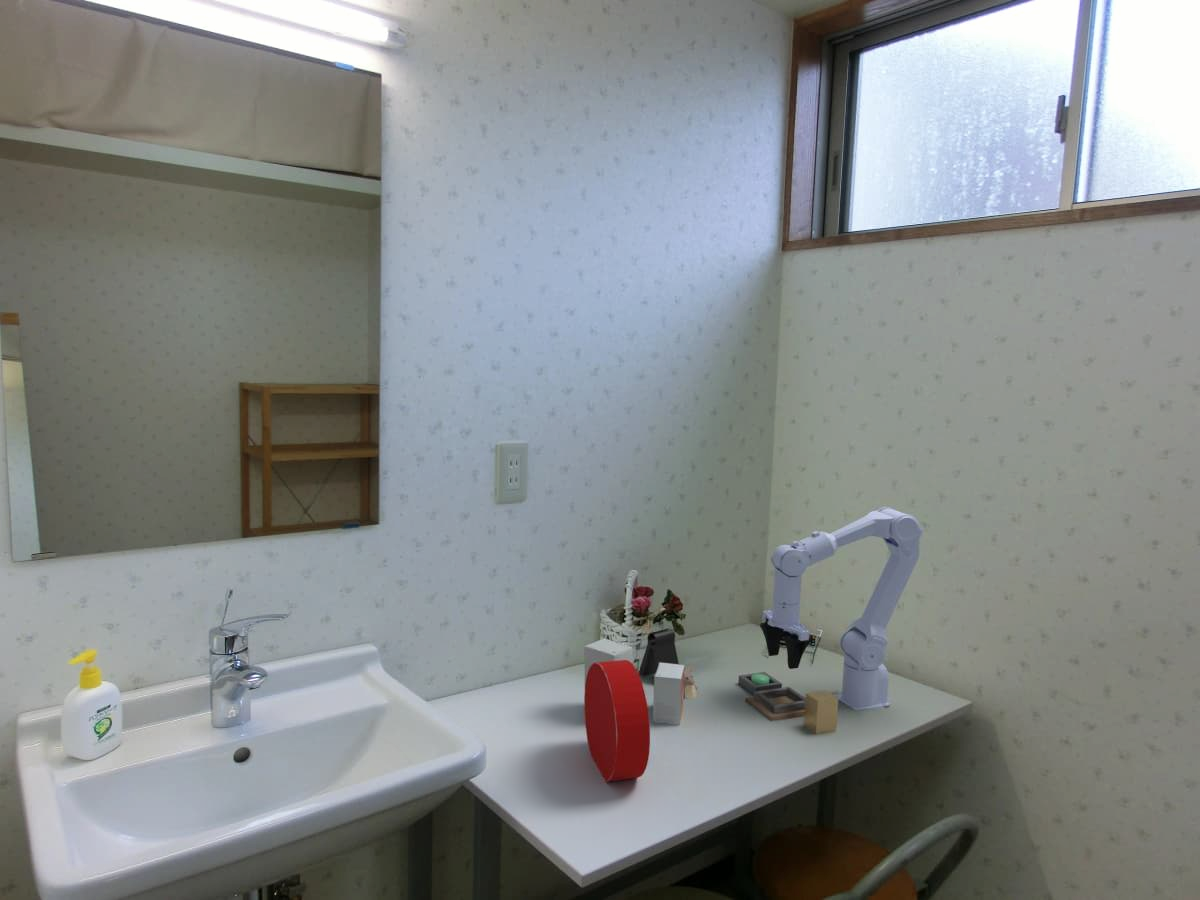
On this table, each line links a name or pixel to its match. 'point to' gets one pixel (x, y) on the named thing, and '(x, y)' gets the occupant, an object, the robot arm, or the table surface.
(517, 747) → the table surface
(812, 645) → the smart glasses
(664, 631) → the phone stand
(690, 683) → the mouse figurine
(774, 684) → the button housing
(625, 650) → the skincare box
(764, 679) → the button
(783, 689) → the framed wooden tray
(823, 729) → the block
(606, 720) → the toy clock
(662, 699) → the small box
